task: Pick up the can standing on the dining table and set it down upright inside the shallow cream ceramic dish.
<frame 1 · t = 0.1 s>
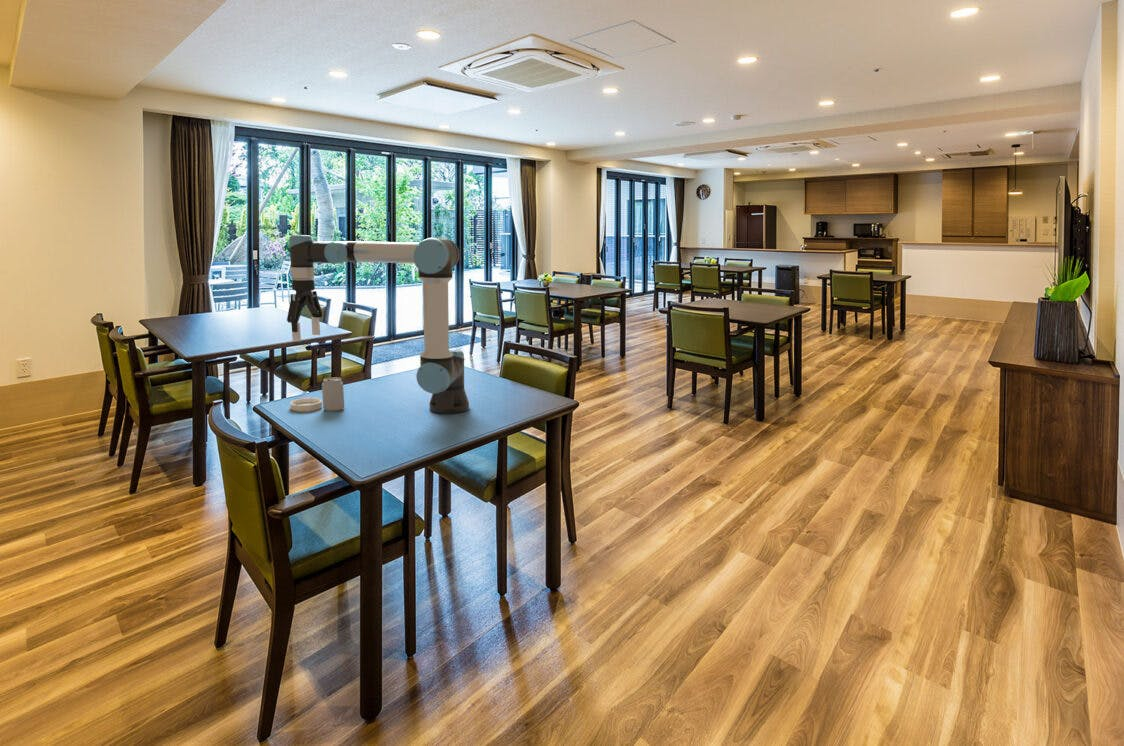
hand: (306, 337, 225), 28 cm above the table, fingers open, 13 cm apart
can: (334, 410, 234), on the table
bowl: (306, 407, 235), on the table
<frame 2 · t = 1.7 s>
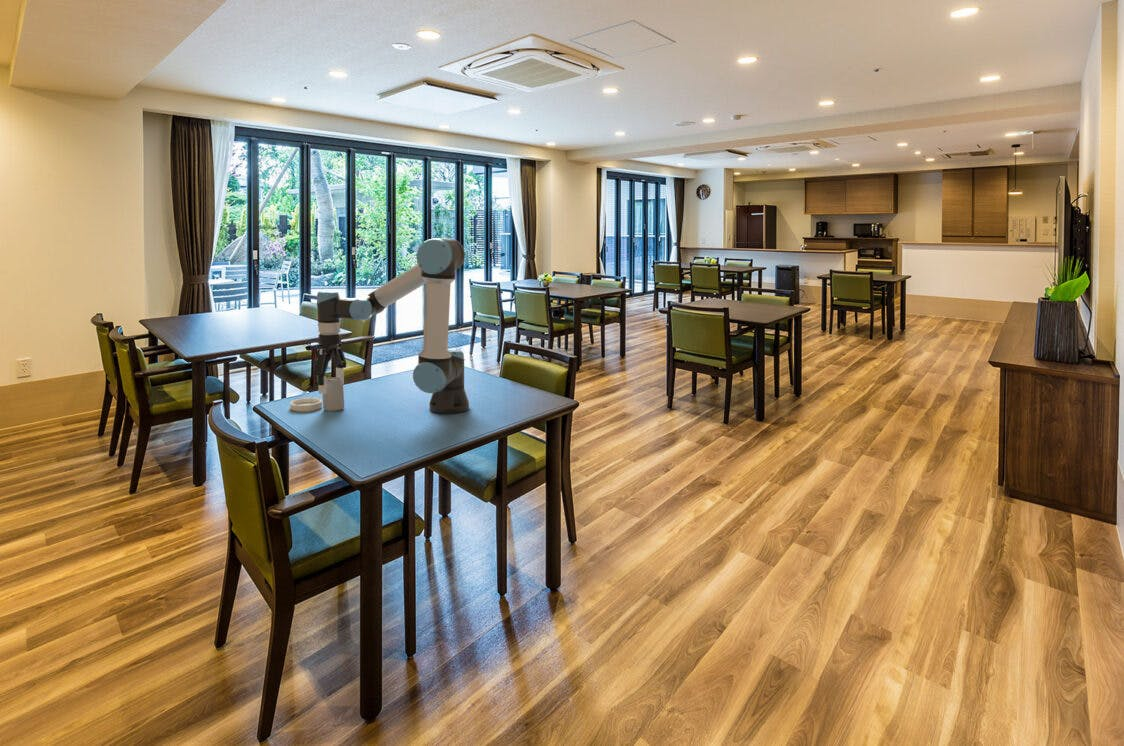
hand: (331, 388, 232), 8 cm above the table, fingers open, 13 cm apart
nothing on the table moved.
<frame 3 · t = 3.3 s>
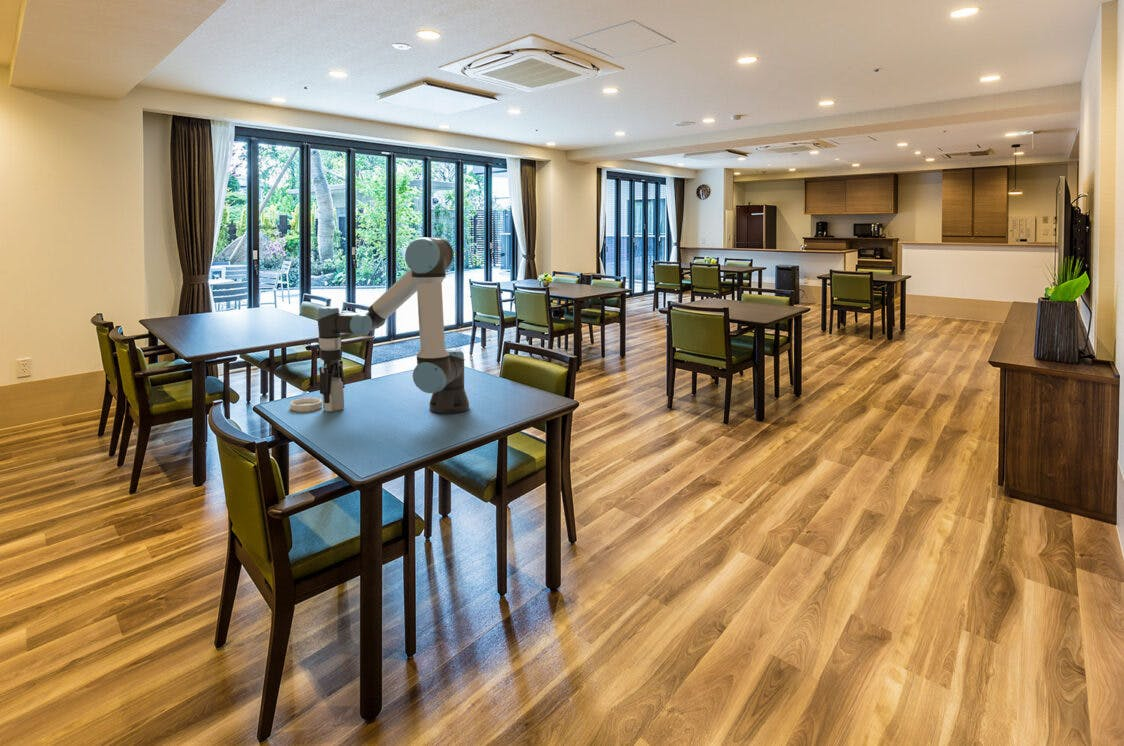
hand: (333, 407, 233), 1 cm above the table, fingers closed on can, 7 cm apart
can: (334, 409, 234), on the table, touching gripper
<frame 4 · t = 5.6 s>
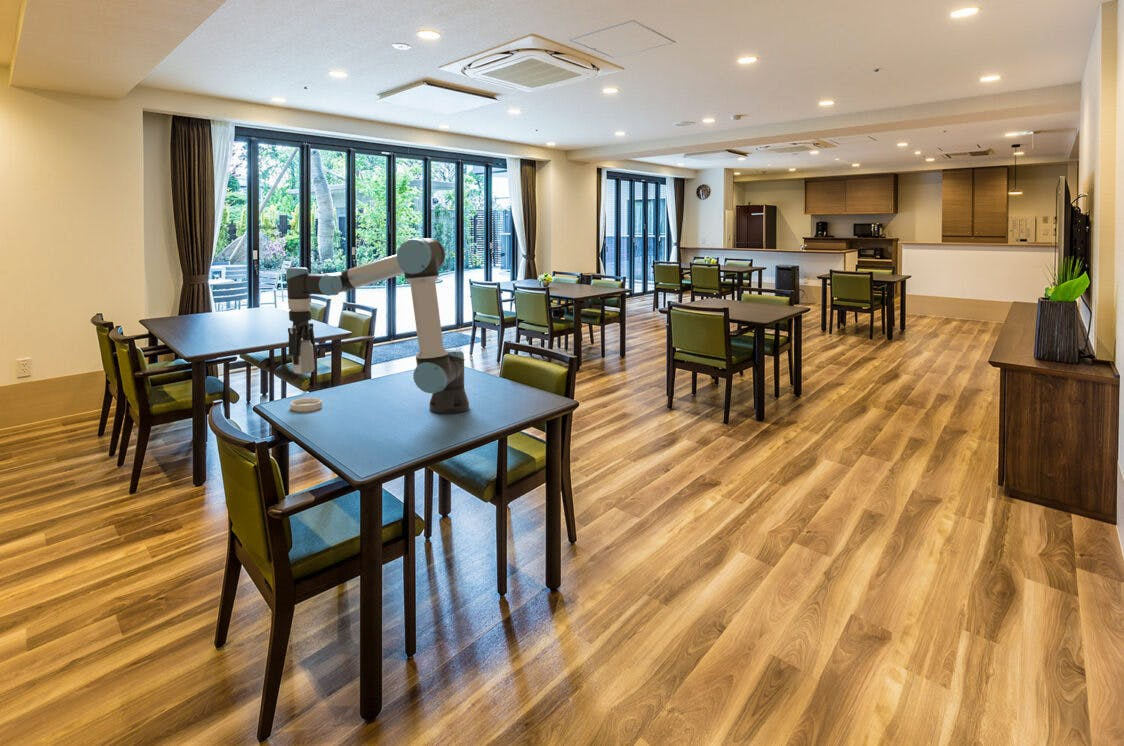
hand: (304, 370, 231), 15 cm above the table, fingers closed on can, 7 cm apart
can: (304, 372, 232), point 14 cm above the table, touching gripper
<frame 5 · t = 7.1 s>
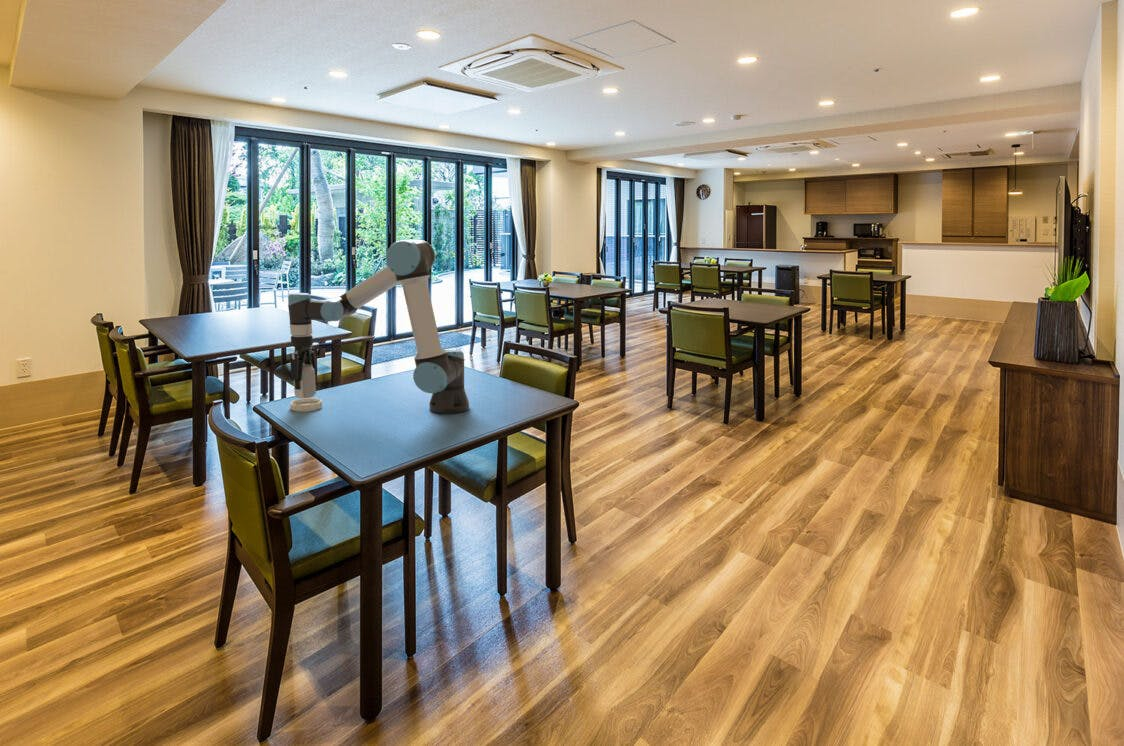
hand: (305, 394, 234), 5 cm above the table, fingers closed on can, 7 cm apart
can: (305, 396, 234), point 4 cm above the table, touching gripper
when the fingers open (4 cm above the table, at t = 8.2 s): can drops 3 cm, resting on bowl.
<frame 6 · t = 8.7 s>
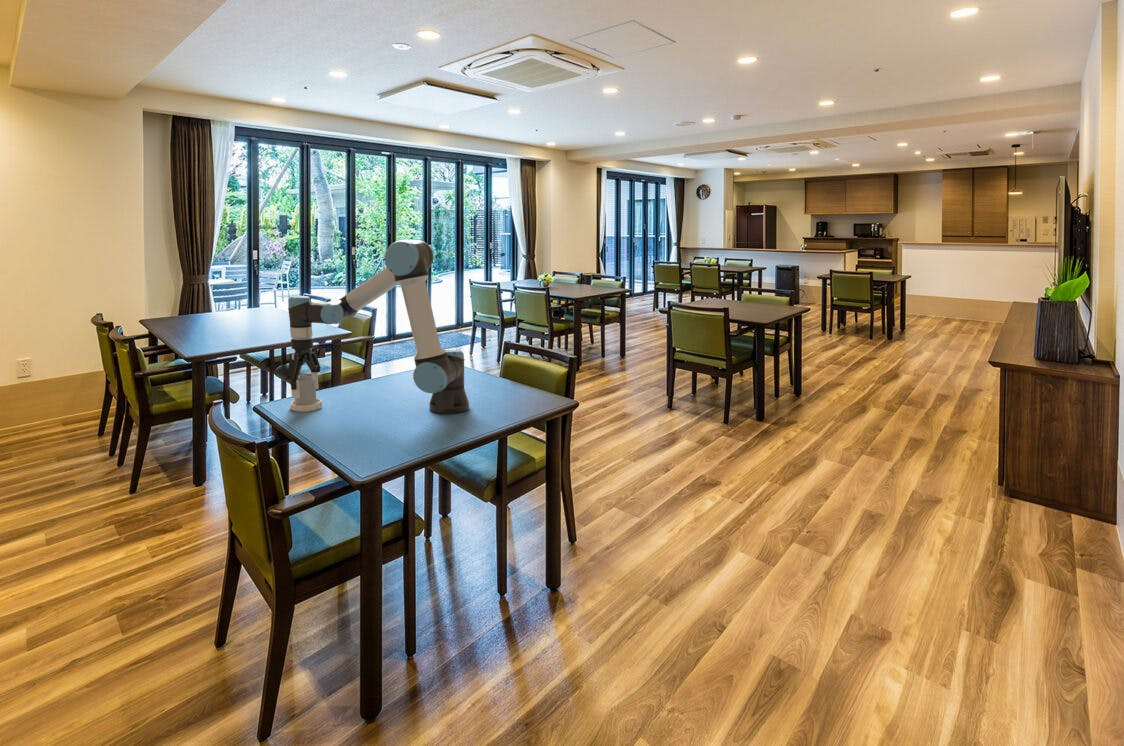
hand: (305, 393, 233), 6 cm above the table, fingers open, 13 cm apart
can: (306, 406, 234), point 1 cm above the table, touching bowl
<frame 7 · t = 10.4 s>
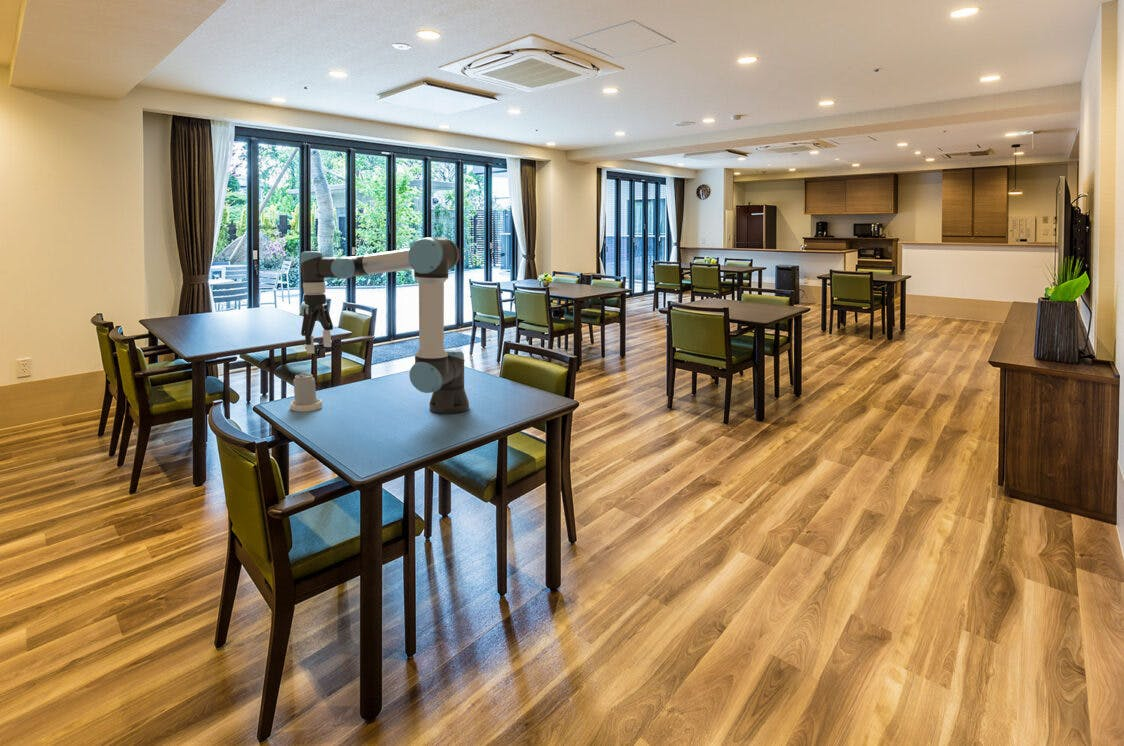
hand: (319, 350, 233), 22 cm above the table, fingers open, 13 cm apart
nothing on the table moved.
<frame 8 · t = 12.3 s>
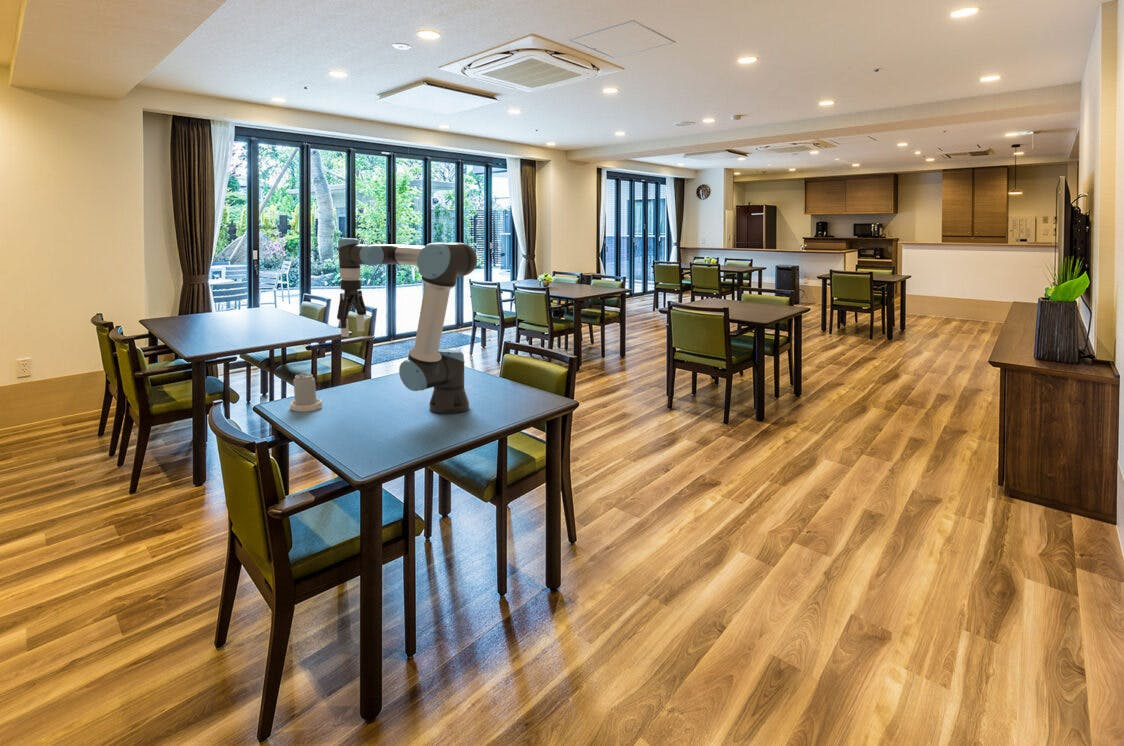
hand: (353, 333, 242), 27 cm above the table, fingers open, 13 cm apart
nothing on the table moved.
at the end: can 0.3 cm from the bowl (horizontally); can tilted 0°; can touching bowl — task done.
